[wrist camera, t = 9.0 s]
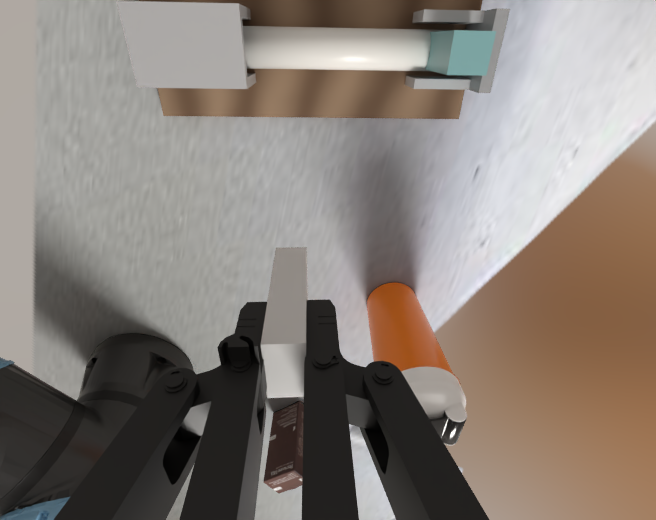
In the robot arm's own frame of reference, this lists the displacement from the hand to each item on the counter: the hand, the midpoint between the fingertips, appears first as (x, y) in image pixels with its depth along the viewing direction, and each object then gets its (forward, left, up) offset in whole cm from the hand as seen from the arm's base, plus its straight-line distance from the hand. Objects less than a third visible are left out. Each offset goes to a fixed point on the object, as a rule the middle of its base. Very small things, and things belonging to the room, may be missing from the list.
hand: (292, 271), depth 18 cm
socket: (+13, +9, -23) cm, 28 cm away
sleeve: (-9, +9, -23) cm, 27 cm away
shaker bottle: (+12, -22, -25) cm, 35 cm away
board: (+1, +9, -24) cm, 26 cm away
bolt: (+4, +9, -23) cm, 25 cm away
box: (-3, -47, -25) cm, 53 cm away
